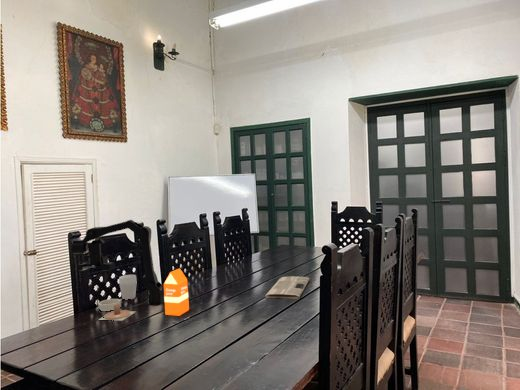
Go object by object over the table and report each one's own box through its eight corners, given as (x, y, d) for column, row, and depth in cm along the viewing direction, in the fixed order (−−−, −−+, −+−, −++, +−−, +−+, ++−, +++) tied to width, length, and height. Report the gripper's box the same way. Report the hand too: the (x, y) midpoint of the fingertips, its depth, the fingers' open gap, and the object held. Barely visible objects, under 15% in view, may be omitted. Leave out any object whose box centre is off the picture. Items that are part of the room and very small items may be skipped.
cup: (132, 301, 207) (130, 278, 207) (116, 300, 209) (115, 278, 209) (140, 296, 216) (139, 274, 216) (125, 295, 218) (124, 274, 217)
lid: (134, 311, 188) (134, 301, 188) (122, 320, 176) (121, 309, 176) (112, 311, 190) (112, 301, 190) (98, 319, 178) (98, 309, 178)
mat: (135, 312, 188) (135, 311, 188) (122, 321, 176) (122, 320, 176) (112, 311, 190) (112, 311, 190) (98, 320, 178) (98, 319, 178)
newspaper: (299, 299, 196) (299, 294, 196) (262, 298, 201) (261, 293, 201) (309, 281, 231) (309, 276, 231) (277, 280, 236) (277, 276, 236)
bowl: (124, 305, 199) (123, 298, 199) (113, 312, 190) (112, 305, 189) (106, 305, 201) (106, 298, 201) (94, 311, 192) (94, 304, 191)
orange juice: (165, 314, 182) (162, 272, 181) (175, 308, 190) (173, 267, 190) (179, 315, 179) (177, 272, 179) (189, 309, 188) (187, 268, 187)
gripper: (120, 249, 204) (121, 279, 204) (88, 250, 207) (89, 279, 208) (107, 253, 193) (109, 284, 193) (74, 253, 196) (76, 284, 197)
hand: (96, 283), depth 198 cm, fingers open, 9 cm apart
